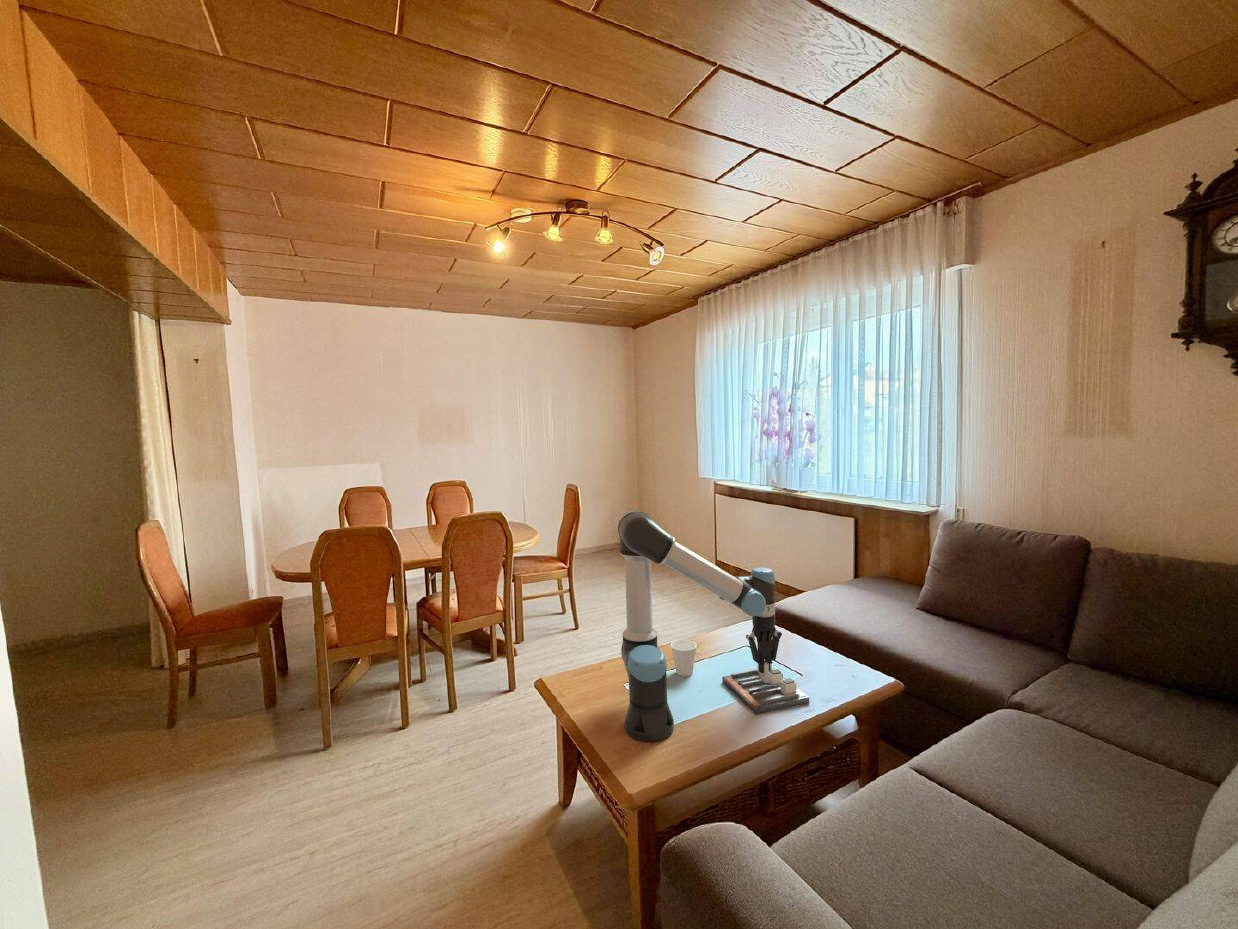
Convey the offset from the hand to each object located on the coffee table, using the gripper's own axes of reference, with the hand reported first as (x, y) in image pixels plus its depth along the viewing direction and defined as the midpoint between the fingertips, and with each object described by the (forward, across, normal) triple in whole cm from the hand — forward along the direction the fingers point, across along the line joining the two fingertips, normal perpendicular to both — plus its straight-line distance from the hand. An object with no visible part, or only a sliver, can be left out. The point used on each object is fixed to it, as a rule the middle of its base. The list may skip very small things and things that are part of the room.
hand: (764, 681), depth 167 cm
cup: (+4, -20, +22) cm, 30 cm away
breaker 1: (+2, +4, +7) cm, 8 cm away
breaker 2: (+2, +4, 0) cm, 5 cm away
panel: (+4, 0, 0) cm, 4 cm away
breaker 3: (+2, +4, -7) cm, 9 cm away
